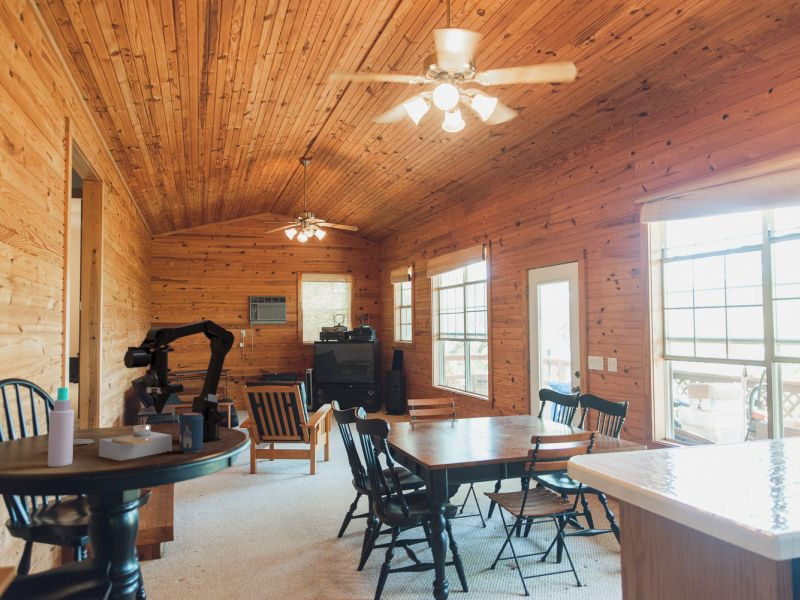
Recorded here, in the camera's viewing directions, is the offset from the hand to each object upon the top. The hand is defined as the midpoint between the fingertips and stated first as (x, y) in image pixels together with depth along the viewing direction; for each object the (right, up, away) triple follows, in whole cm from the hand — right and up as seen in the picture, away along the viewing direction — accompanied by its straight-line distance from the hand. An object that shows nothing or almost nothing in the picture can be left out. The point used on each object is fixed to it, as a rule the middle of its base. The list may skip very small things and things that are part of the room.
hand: (158, 413), depth 181 cm
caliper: (-29, -12, +2) cm, 32 cm away
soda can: (+12, -11, -4) cm, 17 cm away
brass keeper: (-1, -5, -16) cm, 16 cm away
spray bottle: (-18, -10, -23) cm, 31 cm away
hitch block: (-4, -11, -7) cm, 14 cm away
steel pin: (-4, -11, -3) cm, 12 cm away
